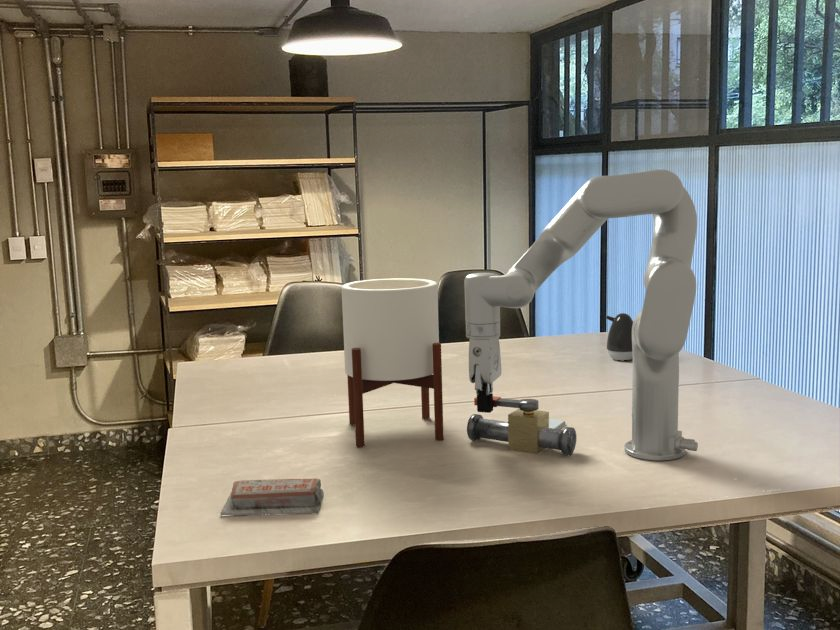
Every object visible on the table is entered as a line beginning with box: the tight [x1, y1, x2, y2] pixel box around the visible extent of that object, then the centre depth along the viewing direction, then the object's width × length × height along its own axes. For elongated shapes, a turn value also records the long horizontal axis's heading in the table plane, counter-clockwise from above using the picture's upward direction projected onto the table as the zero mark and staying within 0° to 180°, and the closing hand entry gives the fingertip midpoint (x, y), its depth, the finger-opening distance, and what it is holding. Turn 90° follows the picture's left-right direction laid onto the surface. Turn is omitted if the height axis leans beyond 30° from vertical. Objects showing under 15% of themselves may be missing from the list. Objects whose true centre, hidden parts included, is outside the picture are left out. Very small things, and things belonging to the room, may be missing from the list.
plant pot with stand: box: [341, 277, 444, 448], centre depth 202 cm, size 22×22×36 cm
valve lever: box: [473, 395, 540, 411], centre depth 189 cm, size 14×4×2 cm, turn 64°
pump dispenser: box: [605, 312, 634, 362], centre depth 275 cm, size 10×10×15 cm
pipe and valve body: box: [466, 408, 577, 456], centre depth 189 cm, size 24×6×9 cm, turn 57°
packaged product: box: [220, 478, 325, 516], centre depth 160 cm, size 18×5×10 cm
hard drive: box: [549, 418, 566, 430], centre depth 203 cm, size 2×8×12 cm
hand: (485, 411), depth 188 cm, fingers closed
